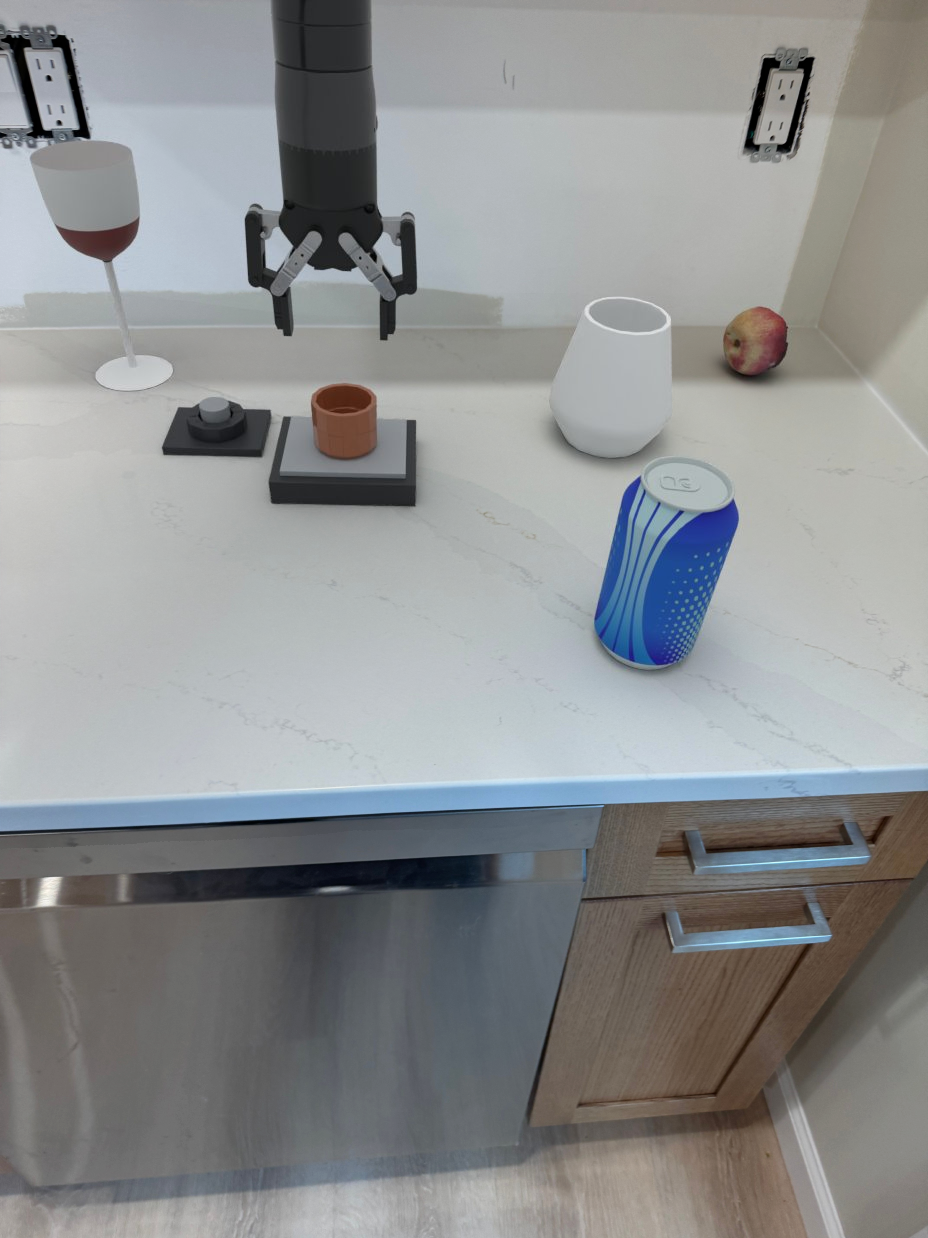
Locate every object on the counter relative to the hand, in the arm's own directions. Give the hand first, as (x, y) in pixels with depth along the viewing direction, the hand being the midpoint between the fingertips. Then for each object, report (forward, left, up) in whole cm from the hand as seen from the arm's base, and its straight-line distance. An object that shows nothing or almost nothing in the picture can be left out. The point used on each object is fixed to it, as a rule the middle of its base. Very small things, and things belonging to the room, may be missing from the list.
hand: (336, 334), depth 74 cm
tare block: (-14, +6, -15) cm, 21 cm away
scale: (0, 0, -15) cm, 15 cm away
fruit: (+49, +24, -15) cm, 57 cm away
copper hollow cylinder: (0, 0, -12) cm, 12 cm away
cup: (+28, +8, -15) cm, 33 cm away
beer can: (+26, -24, -15) cm, 38 cm away
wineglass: (-26, +19, -15) cm, 35 cm away
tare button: (-14, +6, -12) cm, 20 cm away
